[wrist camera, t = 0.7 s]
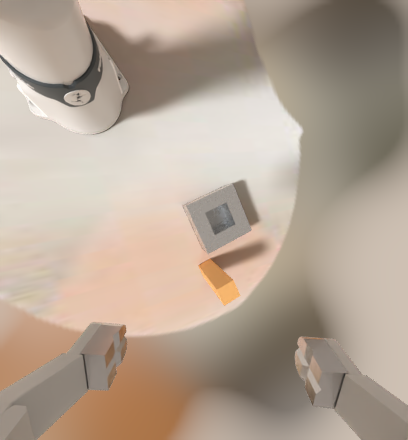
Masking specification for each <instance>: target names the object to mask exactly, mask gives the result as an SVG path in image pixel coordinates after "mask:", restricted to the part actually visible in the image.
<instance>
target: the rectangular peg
mask: <svg viewBox="0 0 408 440" xmlns="http://www.w3.org/2000/svg"><path fill="white" fill-rule="evenodd" d="M198 266H199V268H200V270H201V272H202V274H203V277H204V278H205V280H206V281H207V282H208V284H209V285H210V286H211V288H212V289H213V291H214V292H215V293H216V295H217V296H218V298H219V299H220V300H221V302H222V303H223V305H224V306H225V305H226V304H228V303H229V302H231V301H233V300H234V299H236V298H237V297H239V296H240V294H239V292H238V290H237V287H236V285H235V283H234V281H233V279H232V278H230V277H229V276H228V275H227V274H226V273H225V272H224V271H223V270H222V269H221V268H220V267H219V266H218V265H216V264H215V263H214V262H213V261H212V260H211V259H209V260H207V261H205V262H204V263H202V264H200V265H198Z"/></svg>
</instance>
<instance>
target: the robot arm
mask: <svg viewBox="0 0 408 440" xmlns="http://www.w3.org/2000/svg"><path fill="white" fill-rule="evenodd" d="M0 58H1V59H2V61H3V62H4V63H5V64H6V66H7V67H8V68H9V72H10V74H11V75H12V77H13V78H14V79H16V80H17V82H18V84H17V87H18V88H19V90H20V91H21V92H22V93H23V94H24V95H25V96H26V99H27V102H28V105H29V108H30V110H31V112H32V113H33V114H34V115H36V116H37V117H40V118H43V119H47V120H52V121H54V122H56V123H58V124H59V125H61V126H62V127H64V128H66V129H68V130H70V131H73V132H76V133H80V134H96V133H100V132H103V131H105V130H107V129H108V128H110V127H111V126H112V125H113V124H114V123H115V122H116V121H117V119H118V117H119V115H120V112H121V106H122V100H123V98H124V96H125V95H126V93H127V92H128V89H129V85H128V82H127V80H126V79H125V77H124V76H123V74H122V73H121V71H120V70H119V69H118V67H117V66H116V64H115V63H114V61H113V60H112V58H111V57H110V55H109V54H108V52H107V51H106V49H105V48H104V47H103V45H102V44H101V42H100V41H99V39H98V38H97V36H96V35H95V33H94V32H93V30H92V29H91V27H90V26H89V25H88V23H87V21H86V20H85V18H84V16H83V13H82V10H81V7H80V4H79V2H78V0H0ZM118 78H120V80H118ZM125 333H126V326H125V325H122V324H111V323H99V322H93V323H91V324H90V325H89V326H88V327H87V328H86V330H85V331H84V332H83V333H82V335H81V336H80V337H79V338H78V340H77V341H76V342H75V343H74V345H73V346H72V347H71V348H70V350H69V351H68V352H67V353H63V354H61V355H60V356H58V357H56V358H55V359H53V360H51V361H50V362H48V363H46V364H45V365H43V366H41V367H40V368H38V369H37V370H35V371H33V372H32V373H30V374H28V375H27V376H25V377H24V378H22V379H20V380H19V381H17V382H15V383H14V384H12V385H10V386H9V387H7V388H6V389H4V390H2V391H1V392H0V440H37V439H38V438H39V437H40V436H41V435H42V434H43V433H44V432H45V431H46V430H47V429H49V427H51V426H52V425H53V424H54V423H55V422H56V421H57V420H58V419H59V418H60V417H61V416H62V415H63V414H64V413H65V412H66V411H67V410H68V409H69V408H70V407H72V406H73V405H74V404H75V403H76V402H77V401H78V400H79V399H80V398H81V397H82V396H83V395H84V394H85V393H86V392H87V391H88V390H109V388H110V386H111V384H112V382H113V380H114V378H115V375H116V367H117V366H119V365H120V364H121V363H122V361H123V358H124V356H125V353H126V349H127V339H126V338H125V336H124V335H125ZM297 344H298V346H299V349H298V350H297V351H296V353H295V365H296V368H297V371H298V374H299V376H300V377H301V378H302V379H303V380H304V381H305V382H306V383H305V390H306V392H307V394H308V397H309V399H310V401H311V403H312V406H314V407H323V408H332V409H335V411H336V412H337V413H338V414H339V415H340V417H341V418H342V419H343V420H344V421H345V422H346V423H347V424H348V425H349V427H350V428H351V429H352V430H353V431H354V432H355V433H356V434H357V435H358V437H359V438H360V439H361V440H408V405H406V404H405V403H404V402H402V401H401V400H400V399H398V398H397V397H395V396H394V395H393V394H391V393H390V392H389V391H387V390H386V389H384V388H383V387H382V386H380V385H379V384H378V383H376V382H375V381H373V380H372V379H371V378H369V377H368V376H365V375H362V374H361V372H360V371H359V369H358V368H357V367H356V365H355V364H354V363H353V362H352V360H351V359H350V358H349V356H348V355H347V354H346V352H345V351H344V350H343V348H342V347H341V346H340V344H339V343H338V342H337V341H336V340H335V339H329V338H313V337H300V338H299V339H298V343H297Z"/></svg>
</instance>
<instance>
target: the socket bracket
mask: <svg viewBox="0 0 408 440" xmlns="http://www.w3.org/2000/svg"><path fill="white" fill-rule="evenodd" d="M183 208H184V210H185V212H186V215H187V217H188V219H189V221H190V223H191V225H192V227H193V230H194V232H195V234H196V236H197V238H198V240H199V242H200V245H201V247H202V249H203V250H204V251H205V252H206V253H208V254H209V253H211V252H213V251H215V250H216V249H218V248H220V247H222V246H224V245H226V244H227V243H229V242H231V241H233V240H235V239H237V238H238V237H240V236H242V235H244V234H246V233H248V232H249V231H251V227H250V225H249V222H248V220H247V217H246V215H245V212H244V210H243V207H242V205H241V202H240V200H239V197H238V195H237V192H236V190H235V187H234V185H233V184H230V185H226V186H223V187H221V188H219V189H217V190H215V191H213V192H210V193H208V194H206V195H204V196H202V197H200V198H198V199H195V200H193V201H191V202H189V203H187V204H185V205H183Z"/></svg>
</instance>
